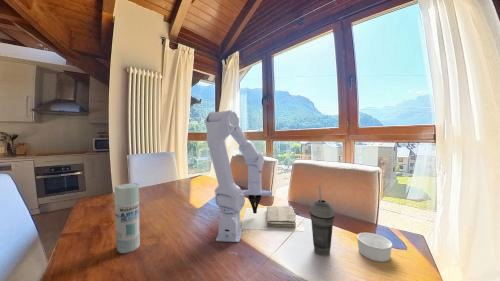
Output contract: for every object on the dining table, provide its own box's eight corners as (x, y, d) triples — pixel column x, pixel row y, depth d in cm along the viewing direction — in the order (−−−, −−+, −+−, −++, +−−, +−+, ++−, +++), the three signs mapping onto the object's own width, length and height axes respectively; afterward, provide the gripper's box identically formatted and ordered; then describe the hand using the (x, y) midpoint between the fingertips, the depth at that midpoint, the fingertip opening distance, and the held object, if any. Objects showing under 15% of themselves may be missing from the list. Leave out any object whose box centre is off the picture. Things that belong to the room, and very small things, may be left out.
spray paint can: (135, 239, 66) (134, 182, 66) (143, 246, 62) (141, 185, 62) (113, 248, 61) (111, 186, 61) (120, 256, 57) (118, 189, 57)
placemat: (304, 231, 71) (304, 231, 71) (240, 229, 73) (240, 228, 73) (296, 209, 92) (296, 209, 92) (246, 208, 94) (246, 207, 94)
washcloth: (266, 228, 73) (266, 220, 73) (266, 210, 91) (266, 203, 91) (298, 229, 72) (298, 221, 72) (291, 210, 90) (291, 204, 90)
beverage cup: (318, 260, 54) (318, 190, 54) (304, 246, 61) (304, 184, 61) (340, 256, 56) (340, 188, 56) (324, 242, 63) (324, 182, 63)
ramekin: (350, 246, 61) (350, 232, 61) (377, 244, 62) (377, 231, 62) (369, 264, 53) (369, 249, 52) (400, 263, 53) (400, 247, 53)
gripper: (271, 179, 86) (271, 209, 86) (239, 178, 87) (239, 208, 87) (272, 183, 79) (272, 215, 79) (236, 182, 80) (237, 214, 80)
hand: (255, 212), depth 83 cm, fingers closed
